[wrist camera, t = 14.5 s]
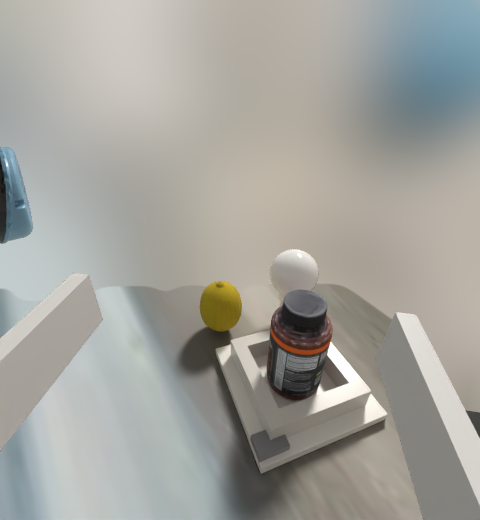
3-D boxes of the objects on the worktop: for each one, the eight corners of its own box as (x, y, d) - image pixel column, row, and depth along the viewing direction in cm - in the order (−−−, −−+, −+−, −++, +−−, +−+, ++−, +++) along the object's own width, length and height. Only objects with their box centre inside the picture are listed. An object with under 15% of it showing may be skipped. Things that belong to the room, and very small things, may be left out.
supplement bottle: (271, 351, 36) (279, 277, 30) (320, 363, 34) (339, 287, 28) (260, 394, 31) (267, 315, 25) (317, 410, 29) (339, 330, 23)
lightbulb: (310, 335, 39) (324, 268, 34) (264, 329, 40) (270, 262, 35) (309, 305, 45) (320, 243, 39) (268, 300, 46) (273, 239, 40)
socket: (215, 354, 36) (214, 334, 35) (310, 327, 41) (314, 308, 39) (260, 473, 25) (262, 454, 23) (384, 419, 30) (394, 399, 28)
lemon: (201, 316, 42) (198, 271, 38) (238, 314, 43) (239, 269, 39) (201, 345, 38) (198, 297, 33) (243, 342, 38) (245, 294, 34)
